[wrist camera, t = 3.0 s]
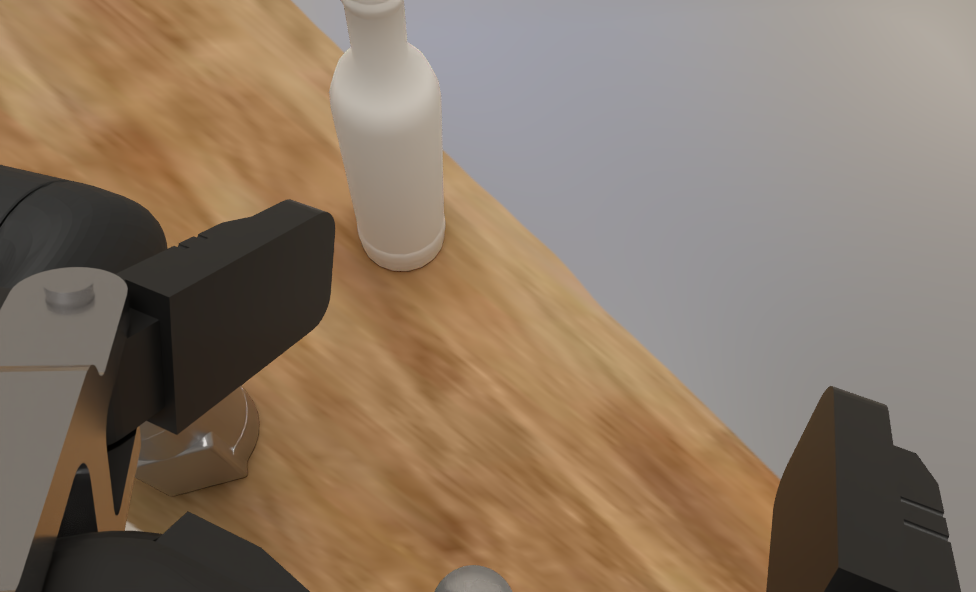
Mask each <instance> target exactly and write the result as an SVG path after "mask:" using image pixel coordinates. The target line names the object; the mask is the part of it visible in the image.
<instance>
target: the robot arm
mask: <svg viewBox="0 0 976 592" xmlns="http://www.w3.org/2000/svg"><path fill="white" fill-rule="evenodd" d="M334 239H335V222H334V219H333V217H332V215H331V214H330V213H328V212H325V211H322V210H319V209H316V208H313V207H311V206H308V205H305V204H302V203H299V202H296V201H293V200H285V201H282V202H280V203H278V204H276V205H274V206H272V207H270V208H268V209H266V210H264V211H262V212H260V213H258V214H256V215H254V216H252V217H248V218H243V219H238V220H233V221H228V222H223V223H221V224H218V225H216V226H214V227H212V228H210V229H208V230H206V231H204V232H202V233H200V234H198V237H194V236H193V237H191V238H189V239H187V240H185V241H183V242H181V243H179V245H178V247H175V246H173V247H171V248H168V249H167V242H166V238H165V235H164V232H163V230H162V228H161V226H160V224H159V222H158V221H157V220H156V219H155V218H154V217H153V215H152V214H151V213H150V212H149V211H148V210H147V209H146V208H144V207H143V206H141V205H140V204H138V203H136V202H135V201H133V200H130V199H128V198H126V197H124V196H121V195H119V194H115V193H112V192H110V191H107V190H104V189H101V188H98V187H95V186H91V185H87V184H83V183H79V182H74V181H69V180H65V179H61V178H56V177H52V176H47V175H43V174H38V173H34V172H30V171H25V170H21V169H16V168H12V167H7V166H3V165H0V592H310V591H309V590H307V589H306V588H305V587H304V586H303V585H302V584H301V583H300V582H299V581H297V580H296V579H295V578H294V577H293V576H292V575H291V574H290V573H289V572H288V571H286V570H285V569H284V568H283V567H282V566H281V565H280V564H279V563H278V562H276V561H275V560H274V559H273V558H272V557H271V556H270V555H269V554H268V553H266V552H265V551H264V550H263V549H262V548H261V547H259V546H257V545H255V544H253V543H251V542H249V541H247V540H245V539H242V538H240V537H238V536H236V535H234V534H232V533H230V532H228V531H226V530H224V529H222V528H220V527H218V526H216V525H214V524H212V523H210V522H208V521H206V520H204V519H202V518H200V517H198V516H196V515H194V514H192V513H190V512H187V513H186V514H185V515H183V516H182V517H181V518H180V519H179V520H178V521H177V522H176V523H175V524H174V525H172V526H171V527H170V528H169V529H168V530H167V531H166V532H165V533H164V534H159V533H150V532H140V531H125V525H126V520H127V515H128V510H129V505H130V500H131V495H132V490H133V484H134V479H135V478H137V479H139V480H141V481H143V482H145V483H147V484H148V485H150V486H152V487H154V488H156V489H158V490H160V491H161V492H163V493H165V494H167V495H169V496H175V495H179V494H183V493H186V492H190V491H194V490H198V489H202V488H205V487H209V486H213V485H217V484H220V483H224V482H228V481H232V480H235V479H239V478H243V477H245V476H247V474H248V471H247V461H248V459H249V457H250V455H251V453H252V451H253V449H254V447H255V445H256V441H257V438H258V434H259V418H258V412H257V409H256V407H255V404H254V402H253V400H252V399H251V398H250V396H249V395H248V393H247V392H246V391H245V390H244V388H243V387H242V386H241V385H242V384H244V383H245V382H246V381H247V380H249V379H250V378H251V377H253V376H254V375H255V374H256V373H258V372H259V371H260V370H262V369H263V368H264V367H265V366H267V365H268V364H269V363H271V362H272V361H273V360H274V359H276V358H277V357H278V356H280V355H281V354H282V353H284V352H285V351H286V350H287V349H289V348H290V347H291V346H293V345H294V344H295V343H296V342H298V341H299V340H300V339H302V338H303V337H304V336H305V335H307V334H308V333H309V332H311V331H312V330H313V329H314V328H315V327H316V326H317V325H318V324H319V323H320V321H321V320H322V318H323V316H324V314H325V312H326V310H327V307H328V304H329V300H330V294H331V281H332V267H333V253H334ZM943 514H944V509H943V505H942V500H941V495H940V491H939V487H938V483H937V482H936V480H935V479H934V477H933V476H932V475H931V473H930V472H929V471H928V469H927V468H926V466H925V465H924V464H923V462H922V461H921V459H920V458H919V457H918V455H917V454H916V453H913V452H911V451H908V450H905V449H902V448H900V447H896V446H894V445H893V440H892V433H891V426H890V419H889V411H888V407H887V406H886V405H885V404H882V403H879V402H876V401H873V400H870V399H867V398H864V397H861V396H859V395H856V394H853V393H850V392H847V391H844V390H841V389H839V388H836V387H833V386H830V387H828V388H827V389H826V391H825V392H824V393H823V395H822V397H821V399H820V400H819V402H818V404H817V406H816V409H815V410H814V412H813V414H812V416H811V418H810V421H809V422H808V424H807V426H806V428H805V430H804V432H803V434H802V436H801V438H800V441H799V442H798V445H797V447H796V448H795V450H794V453H793V454H792V457H791V458H790V460H789V463H788V464H787V467H786V469H785V471H784V473H783V476H782V478H781V481H780V484H779V487H778V490H777V494H776V498H775V502H774V508H773V519H772V531H771V543H770V555H769V567H768V578H767V590H766V592H961V589H960V585H959V580H958V575H957V571H956V566H955V561H954V556H953V552H952V548H951V543H950V542H948V538H949V533H948V528H947V523H946V519H945V518H943Z"/></svg>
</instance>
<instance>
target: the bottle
mask: <svg viewBox="0 0 976 592" xmlns="http://www.w3.org/2000/svg"><path fill="white" fill-rule="evenodd" d="M341 1H342V3H343V5H344V9H345V15H346V20H347V26H348V32H349V38H350V44H351V48H349V49H348V50H347V51H346V52H345V53H344V54H343V55H342V57H341V58H340V59H339V61H338V64H337V66H336V69H335V72H334V75H333V79H332V82H331V86H330V91H329V94H330V105H331V111H332V115H333V119H334V124H335V128H336V133H337V137H338V141H339V146H340V150H341V154H342V159H343V163H344V168H345V172H346V176H347V181H348V185H349V189H350V194H351V198H352V203H353V207H354V211H355V216H356V220H357V227H358V234H359V238H360V240H361V242H362V246H363V248H364V250H365V251H366V253H367V255H368V257H369V258H370V259H372V260H373V261H374V262H375V263H376V264H378V265H379V266H381V267H384V268H387V269H390V270H392V271H410V270H413V269H417V268H420V267H423V266H424V265H426V264H427V263H429V262H430V261H431V260H433V259H434V258H435V256H436V255H437V254H438V252H439V251H440V249H441V248H442V244H443V240H444V231H445V217H444V196H443V155H442V115H441V93H440V87H439V81H438V79H437V77H436V75H435V73H434V71H433V69H432V68H431V66H430V64H429V63H428V61H427V60H426V58H425V57H424V55H423V54H422V52H421V51H420V50H418V49H417V48H415V47H414V46H412V45H411V44H410V43H407V34H406V22H405V9H404V0H341Z"/></svg>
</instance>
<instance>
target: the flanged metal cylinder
mask: <svg viewBox="0 0 976 592" xmlns="http://www.w3.org/2000/svg"><path fill="white" fill-rule="evenodd" d="M435 592H512V590H511V588H510V586H509V585H508V583H507V582H506V581H505V580H504V578H503V577H501V576H500V575H499V574H498V573H496V572H495V571H493V570H491V569H489V568H486V567H483V566H476V565H471V566H464V567H461V568H458V569H456V570H454V571H452V572H451V573H449V574H448V575H447V576H446V577H445V578H444V579H443V580H442V581H441V582H440V583H439V585H438V586H437V588H436V590H435Z"/></svg>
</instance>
